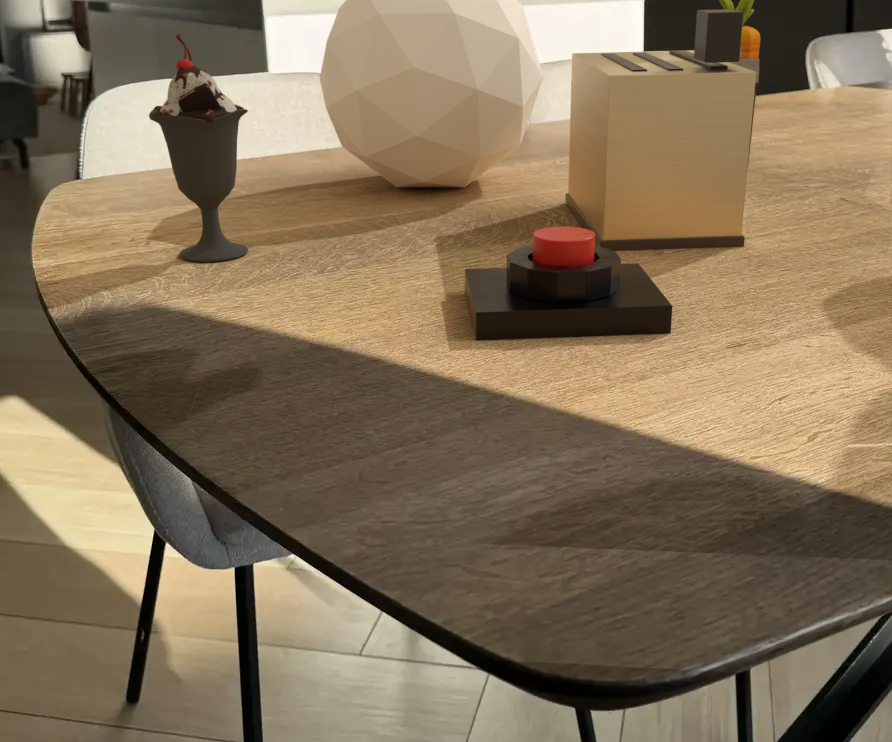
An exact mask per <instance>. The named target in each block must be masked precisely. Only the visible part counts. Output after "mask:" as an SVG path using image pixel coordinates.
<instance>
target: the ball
mask: <svg viewBox="0 0 892 742" xmlns="http://www.w3.org/2000/svg"><path fill="white" fill-rule="evenodd" d="M326 39H327V40H326V44H325V49H324V50H325V51H324V54H323V59H322V65H321V69H320V74H319V83H320V87H321V91H322V97H323V101H324V106H325V109H326V112H327V114H328V116H329V119H330V121H331V123H332V126H333V128H334V131H335V133H336V136H337V138H338V141H339V142H340V145H341V147H342V148H344V149H345V150H346V151H347V152H349V153H350V154H351V155H353V156H354V157H356V158H357V159H358V160H359V161H361V162H362V163H364V164H365V165H366V166H367V167H368V168H370V169H371V170H373V171H374V172H375V173H377V174H378V175H379V176H381V177H382V178H383V179H385V180H386V181H388V182H389V183H390V184H392V185H393V186H394V187H395V188H426V189H427V188H436V189H437V188H440V189H441V188H443V189H445V188H446V189H449V188H451V189H453V188H455V189H457V188H458V189H459V188H462V189H464V188H466V187H467V186H468V185H470V184H471V183H472V182H474V181H475V180H477V179H478V178H479V177H481V176H483V174H485V173H486V172H487V171H489V170H490V169H491V168H493V167H494V166H496V165H497V164H499V162H501V161H503V160H504V159H505V158H507V157H508V156H509V155H510V154H512V153H513V152H514V151H516V150H517V149H518V148H520V147H521V145H522V142H523V139H524V136H525V133H526V130H527V127H528V123H529V121H530V119H531V114H532V112H533V108H534V106H535V102H536V99H537V96H538V93H539V90H540V88H541V85H542V83H543V78H544V75H543V71H542V67H541V64H540V61H539V58H538V54H537V51H536V47H535V44H534V40H533V37H532V34H531V30H530V26H529V23H528V19H527V16H526V12H525V9H524V6H523V4H522V3H521V2H519V1H517V0H345V1H344V2H343V3H342V4H341V5H340V6H339V8H338V10H337V13H336V16H335V19H334V21H333V24H332V26H331V29H330V32H329V34H328V36H327V38H326Z"/></svg>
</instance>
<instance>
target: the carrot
mask: <svg viewBox="0 0 892 742" xmlns="http://www.w3.org/2000/svg"><path fill="white" fill-rule="evenodd" d="M718 2H719V4H720V5H721V7H722V10H725V9H731V10H736V11H741V12H743V23H742V35H741V47H740V48H742V52H741V59H743V58H748V59H759V57H760V56H759V55H760V47H761V33H760V32H759V31H758V30H757V29H756V28H754V27H751V26H749V25H745V23H746V22H747V21H748V20H749V18H750V17H751V16H752V15H753V14H754V12H755V10H754V9H753V8H752V7H753V4H754V3H755V0H740V1H739V3H738V5H737V6H736V8H735V7H734V3H733V1H732V0H718Z"/></svg>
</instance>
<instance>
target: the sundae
mask: <svg viewBox="0 0 892 742" xmlns="http://www.w3.org/2000/svg"><path fill="white" fill-rule="evenodd" d="M175 36H176V37H175V38H176V40H178V42H179V43H180V44H181V45H182V46H183V48H184V55H183V59H179V60H178V61H177V63H176V66H175V67H176V70H177V71H176V73H175V75H173V77H172V79H170V81H169V84H168V89H167V99H166V100H165V102H164V103H163V104H162V105H155V106H154V107H153V109H152V110H150V112H149V114H148V118H149V119H150V121H153V122H155V123H157V124H158V125H159V126H160V129H161V132H162V134H163V137H164V138H163V139H164V140H165V143H166V148H167V151H168V152H167V153H168V156H169V160H170V164H171V169H172V173H173V176H174V178H175V179H174V180H175V182H176V185H177V187H178V190H179V191H180V192H181V193H182V194H183V195H184V196H185V198H187V199H188V200H189V201H191V202H192V203H194V204H195V206H197V207H198V208H199V209H200V213H201V214H200V215H201V221H202V223H201V225H202V226H201V227H202V228H201V229H202V230H201V235H200V237H199V240H198V241H197V243H196V244H194V245H191V246H188V247H186V248H184V249H182V250H181V251H180V252H179V254H178V256H179V257H180V258H181V259H182V260H185V261H188V262H194V263H195V262H196V263H218V262H225V261H229V260H235V259H238V258H242V257H244V256H246V255H247V253H248V252H249V248H248V247H247V246H246V245H245V244H241V243H237V242H232V241H230V240H229V239H228V238H226V236H225V235H224V233H223V230H222V228H221V224H220V219H219V206H220V205H221V203H223V201H224V200H225V199H227V198H228V197H229V195H230V194H231V192H232V191H233V189H234V188H235V185H236V177H237V168H238V166H237V165H238V163H237V161H238V136H239V126H240V125H239V124H240V120H241V118H242V117H243V116H244V115H246V114H247V113H248V111H249V110H248V109H246V108H244V107H243V106H241V105H238V104H235V103H234V102H233V101H232V100H231V99H230V98H229V97H228V96H226V95H225V94H224V93H223V92H222V91H221V89H220V88H219V87H218V84H217V82H216V79H214V78H213V76H212V75H211V74H210V73H209V72H208V71H206V70H205V69H202V68H200V67H198V66H195V65H194V64H193V58H192V54H191V52H190V50H189V48H188V46H187V45H186V43H185V41H184V40H183V39H182V36H181V33H179V32H178V33H176V35H175ZM187 57H188V58H187Z"/></svg>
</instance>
